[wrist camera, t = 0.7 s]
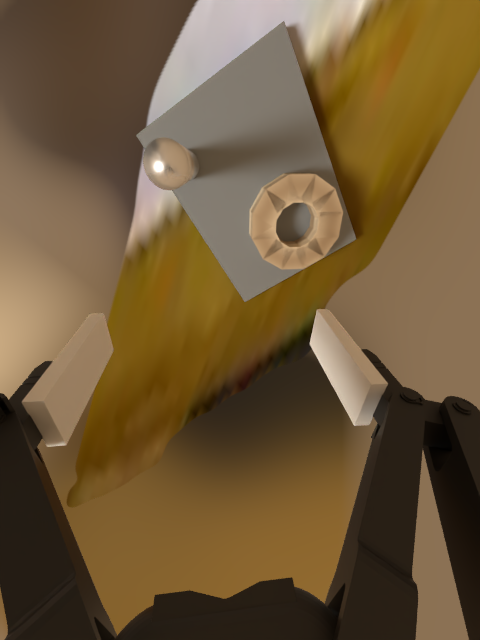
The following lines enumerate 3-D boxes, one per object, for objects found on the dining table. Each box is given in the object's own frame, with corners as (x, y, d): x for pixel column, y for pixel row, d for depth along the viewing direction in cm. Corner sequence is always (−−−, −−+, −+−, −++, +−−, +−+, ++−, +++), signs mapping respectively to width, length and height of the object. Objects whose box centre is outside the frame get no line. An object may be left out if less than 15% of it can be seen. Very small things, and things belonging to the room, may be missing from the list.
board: (139, 136, 30) (136, 135, 28) (280, 27, 26) (284, 20, 25) (243, 297, 41) (244, 301, 40) (351, 236, 38) (356, 239, 36)
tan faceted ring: (233, 205, 33) (235, 209, 30) (313, 153, 31) (323, 152, 28) (272, 275, 38) (276, 283, 36) (343, 235, 36) (353, 240, 33)
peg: (167, 159, 30) (133, 155, 17) (189, 143, 29) (171, 126, 16) (183, 185, 31) (163, 198, 18) (204, 170, 31) (198, 174, 18)
